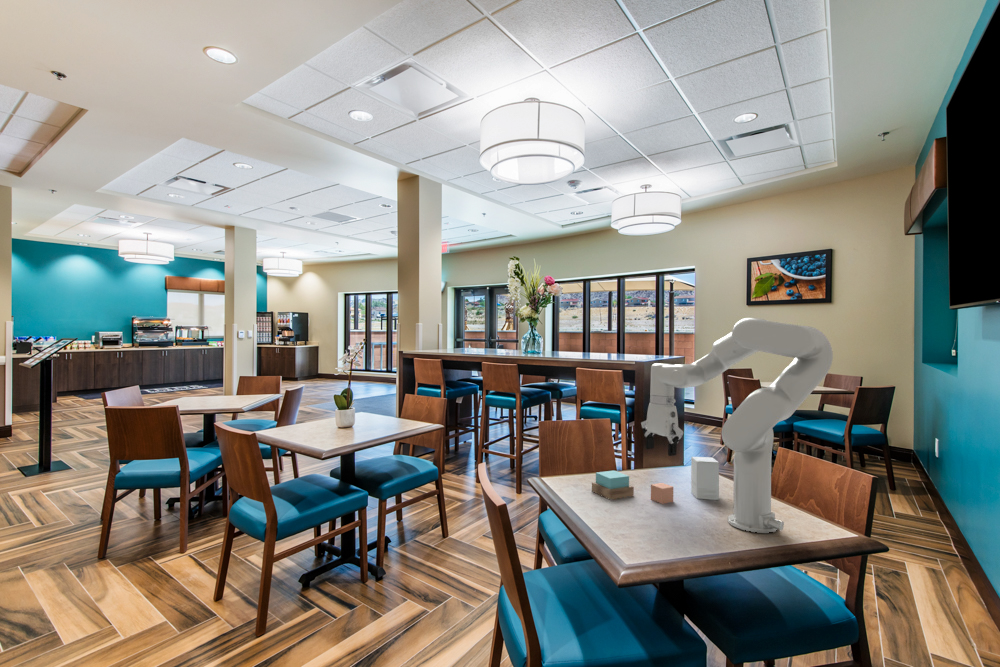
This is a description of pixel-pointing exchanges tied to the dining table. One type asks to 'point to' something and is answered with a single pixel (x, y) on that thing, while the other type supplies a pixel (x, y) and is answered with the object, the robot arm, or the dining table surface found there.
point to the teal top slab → (612, 479)
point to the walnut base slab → (613, 491)
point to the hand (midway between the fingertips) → (660, 451)
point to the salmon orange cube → (662, 493)
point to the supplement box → (705, 478)
